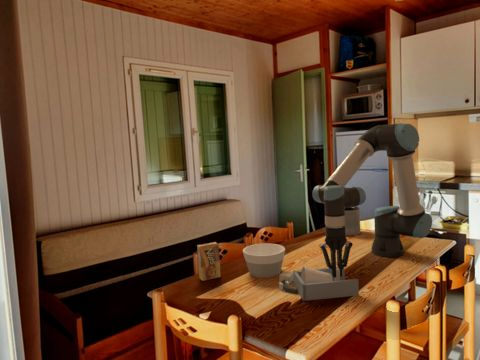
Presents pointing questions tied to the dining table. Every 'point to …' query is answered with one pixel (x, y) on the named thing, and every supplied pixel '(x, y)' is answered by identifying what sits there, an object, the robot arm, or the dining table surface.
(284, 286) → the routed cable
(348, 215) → the planter
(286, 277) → the clamp and clip
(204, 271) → the candy box
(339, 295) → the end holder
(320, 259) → the dining table surface
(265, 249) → the bowl
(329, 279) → the cup
